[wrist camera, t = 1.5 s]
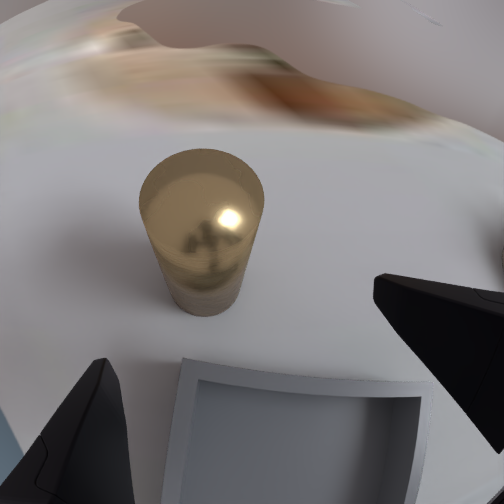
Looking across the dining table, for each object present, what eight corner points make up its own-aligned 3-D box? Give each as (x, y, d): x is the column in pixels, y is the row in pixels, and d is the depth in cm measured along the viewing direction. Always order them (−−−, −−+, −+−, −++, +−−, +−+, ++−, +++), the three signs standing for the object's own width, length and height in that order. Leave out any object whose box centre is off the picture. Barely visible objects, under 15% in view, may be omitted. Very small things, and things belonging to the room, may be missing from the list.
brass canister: (234, 322, 22) (254, 264, 12) (162, 308, 21) (122, 240, 11) (245, 255, 24) (270, 159, 14) (178, 243, 24) (160, 142, 14)
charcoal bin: (365, 556, 14) (390, 577, 10) (161, 553, 13) (153, 582, 9) (398, 385, 21) (433, 381, 17) (188, 363, 20) (182, 357, 16)
